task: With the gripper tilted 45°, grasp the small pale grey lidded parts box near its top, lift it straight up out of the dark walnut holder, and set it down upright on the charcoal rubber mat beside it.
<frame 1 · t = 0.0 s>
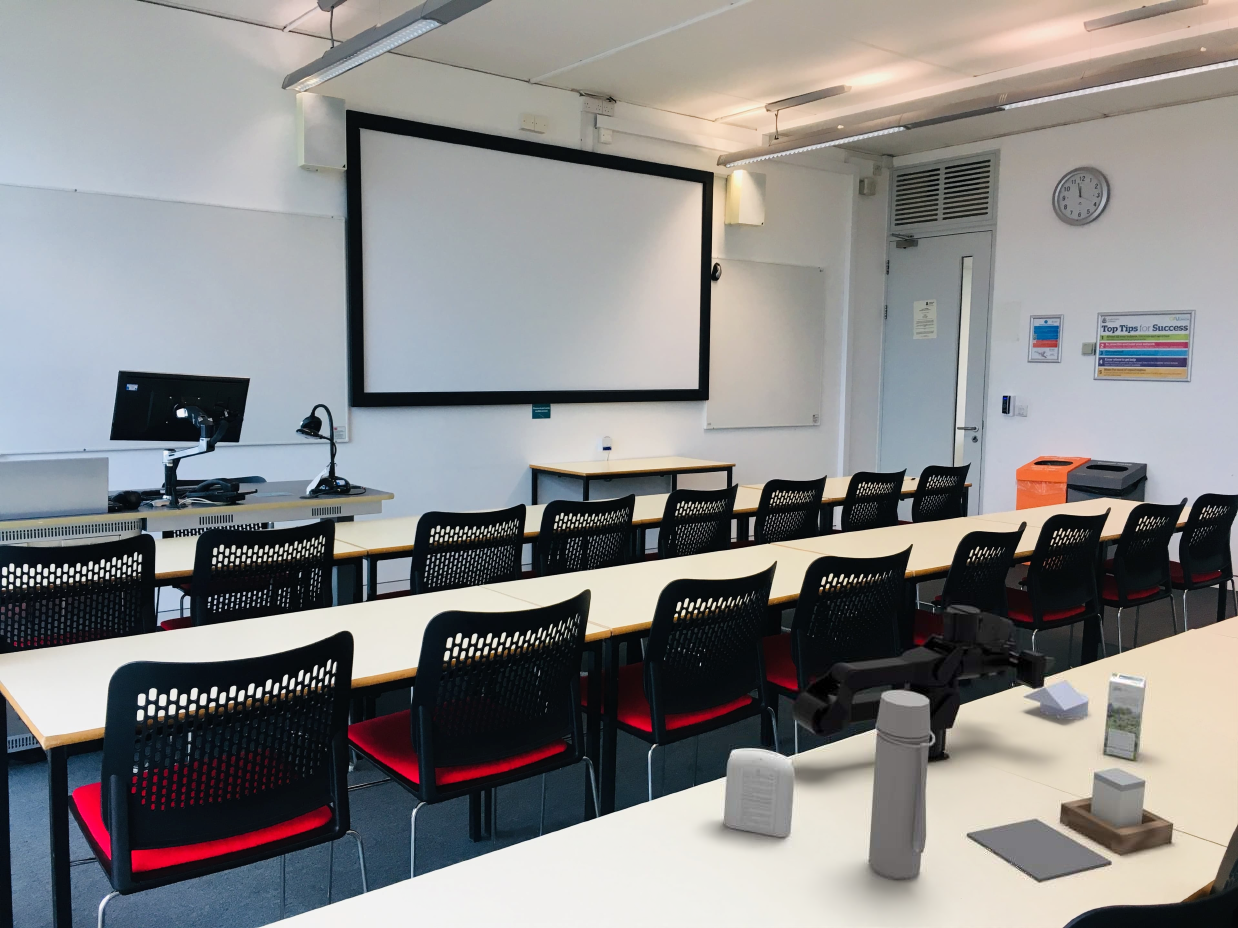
hand: (1035, 653, 188), 17 cm above the table, tool horizontal, fingers open, 9 cm apart
walnut holder: (1114, 831, 152), on the table
rubber mat: (1037, 849, 146), on the table
grey parts box: (1117, 804, 152), in the walnut holder
syrup box: (1120, 754, 184), on the table
lavender angled block: (1058, 713, 204), on the table
photo printer: (757, 829, 150), on the table
water bottle: (898, 873, 138), on the table
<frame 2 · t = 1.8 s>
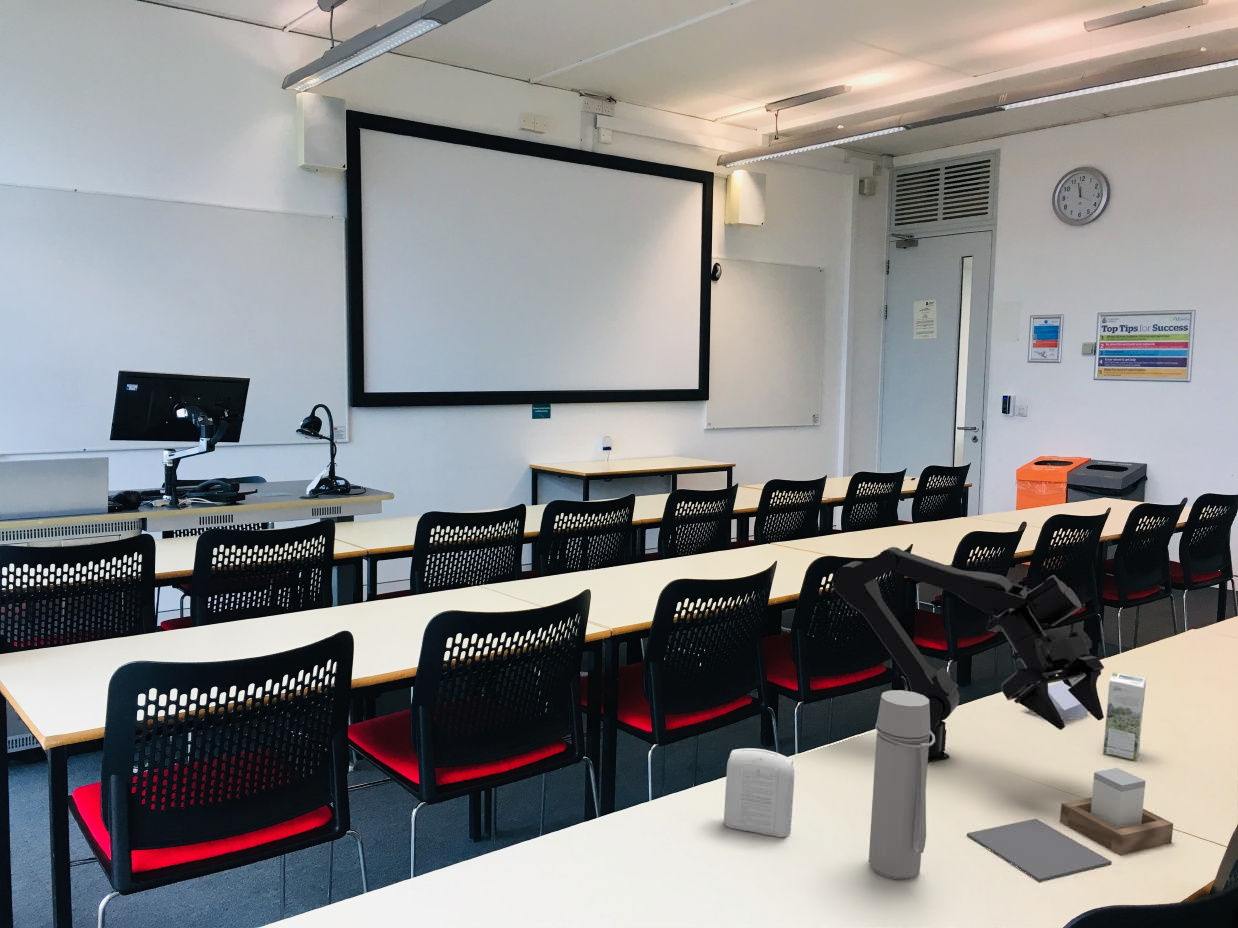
hand: (1082, 723, 159), 14 cm above the table, tool tilted 45°, fingers open, 9 cm apart
nothing on the table moved.
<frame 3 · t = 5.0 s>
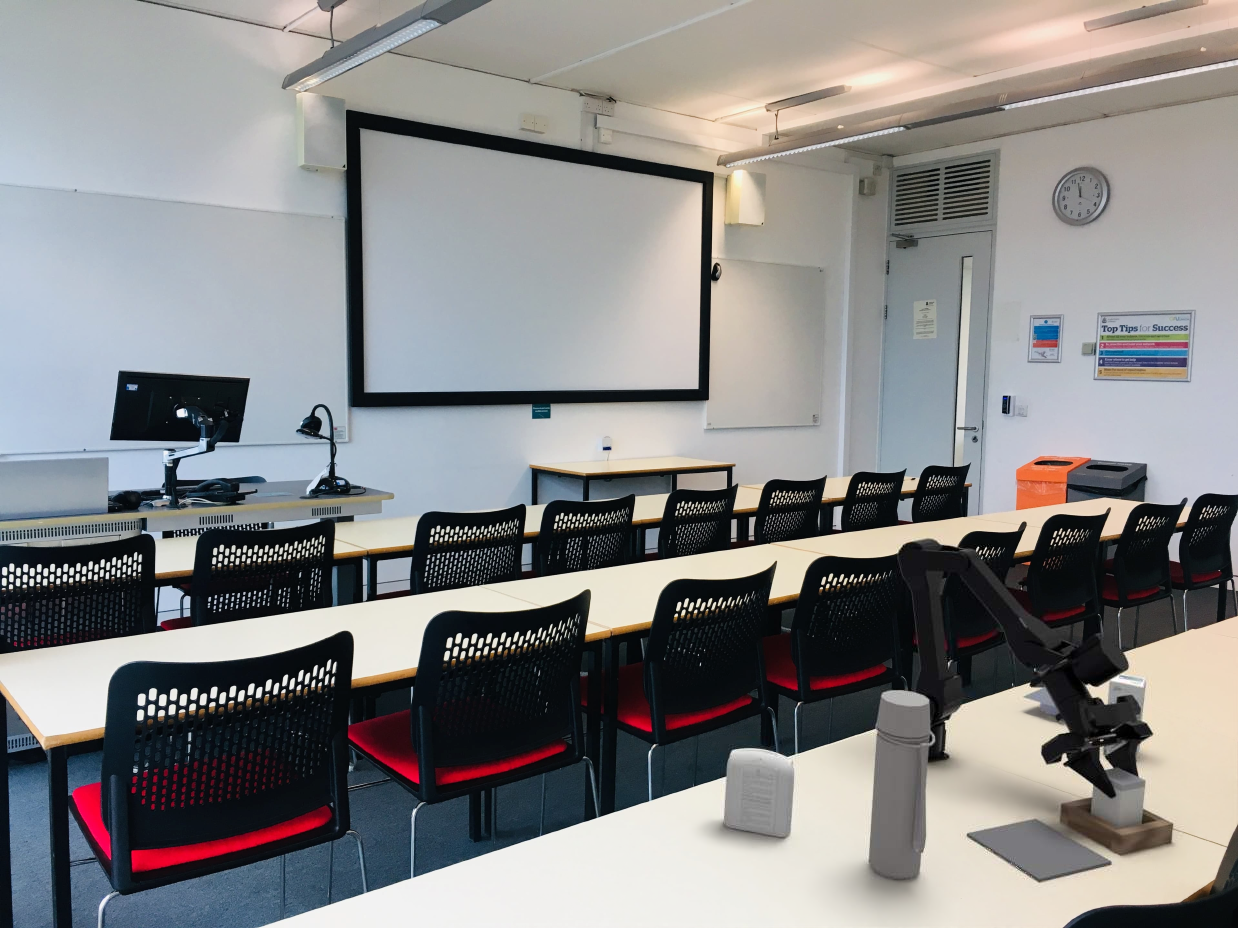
hand: (1126, 794, 150), 7 cm above the table, tool tilted 45°, fingers closed on grey parts box, 5 cm apart
grey parts box: (1117, 803, 152), in the walnut holder, touching gripper
everything else where it was.
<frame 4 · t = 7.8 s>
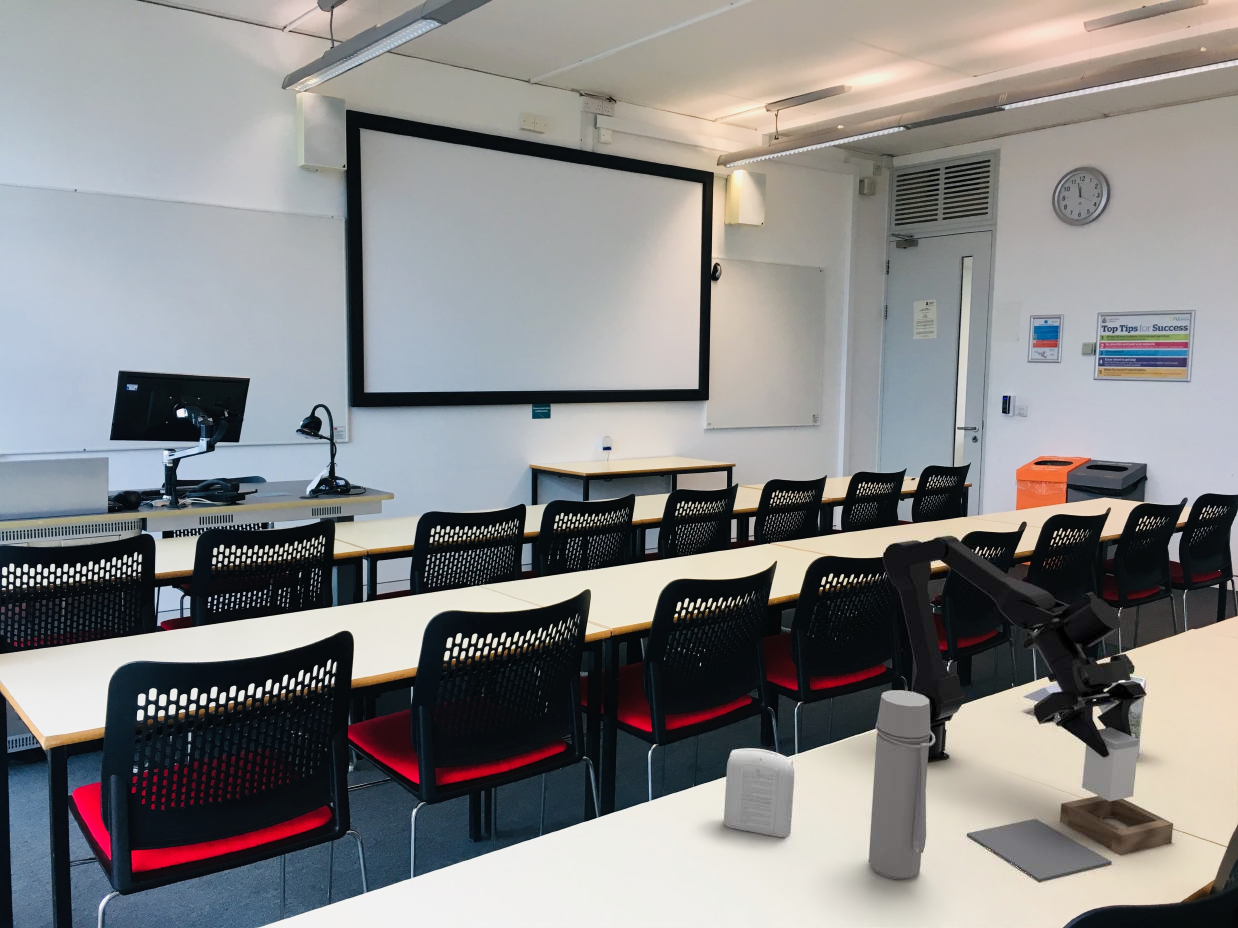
hand: (1119, 753, 149), 13 cm above the table, tool tilted 45°, fingers closed on grey parts box, 5 cm apart
grey parts box: (1110, 763, 150), point 11 cm above the table, touching gripper
everything else where it was.
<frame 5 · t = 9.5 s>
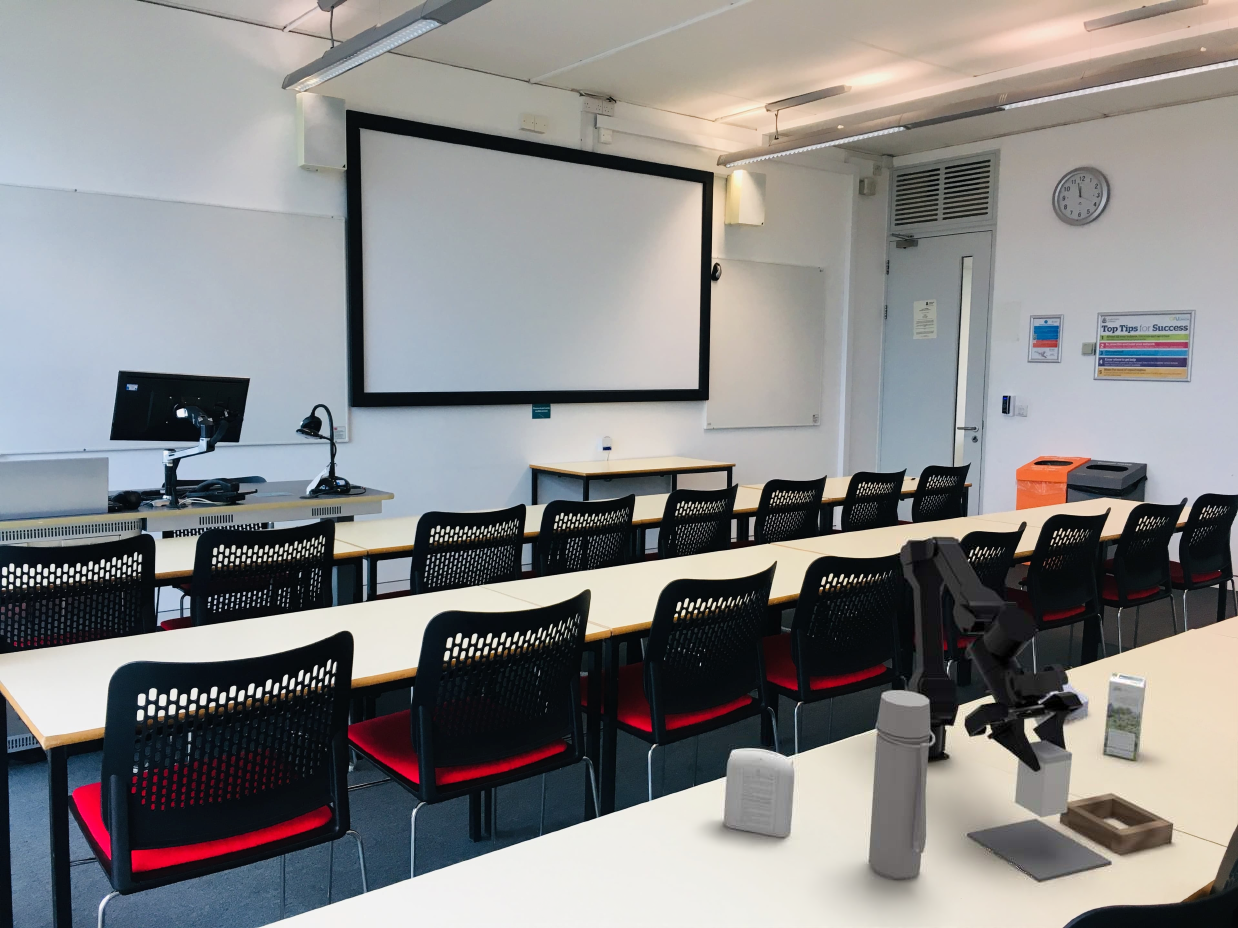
hand: (1051, 767, 143), 13 cm above the table, tool tilted 45°, fingers closed on grey parts box, 5 cm apart
grey parts box: (1043, 777, 145), point 11 cm above the table, touching gripper
everything else where it was.
when the fingers open (8 cm above the table, at t = 10.9 s): grey parts box drops 1 cm, resting on rubber mat.
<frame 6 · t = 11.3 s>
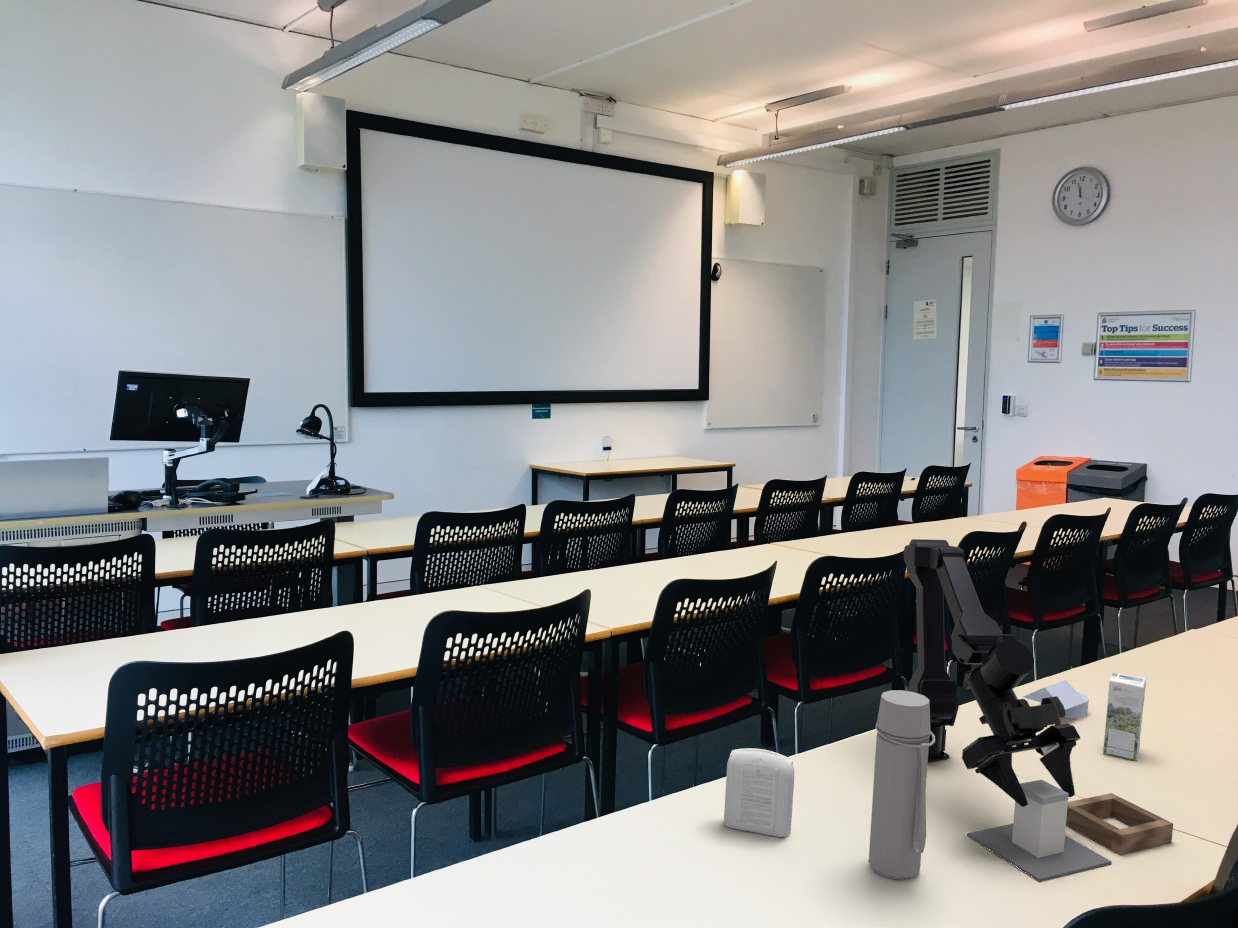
hand: (1049, 800, 144), 8 cm above the table, tool tilted 45°, fingers open, 9 cm apart
grey parts box: (1039, 817, 145), on the rubber mat
everything else where it was.
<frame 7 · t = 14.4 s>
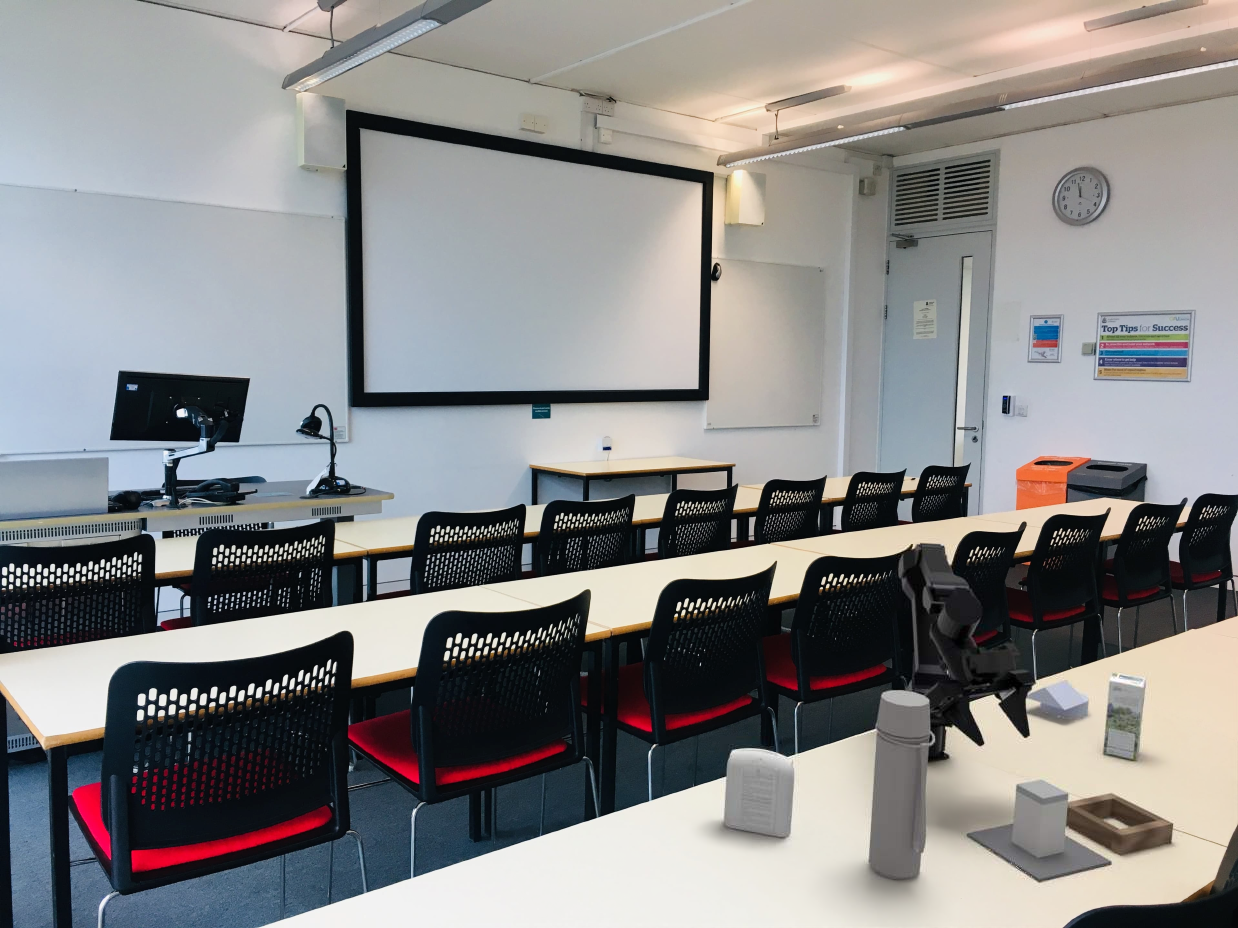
hand: (1005, 740, 152), 14 cm above the table, tool tilted 45°, fingers open, 9 cm apart
nothing on the table moved.
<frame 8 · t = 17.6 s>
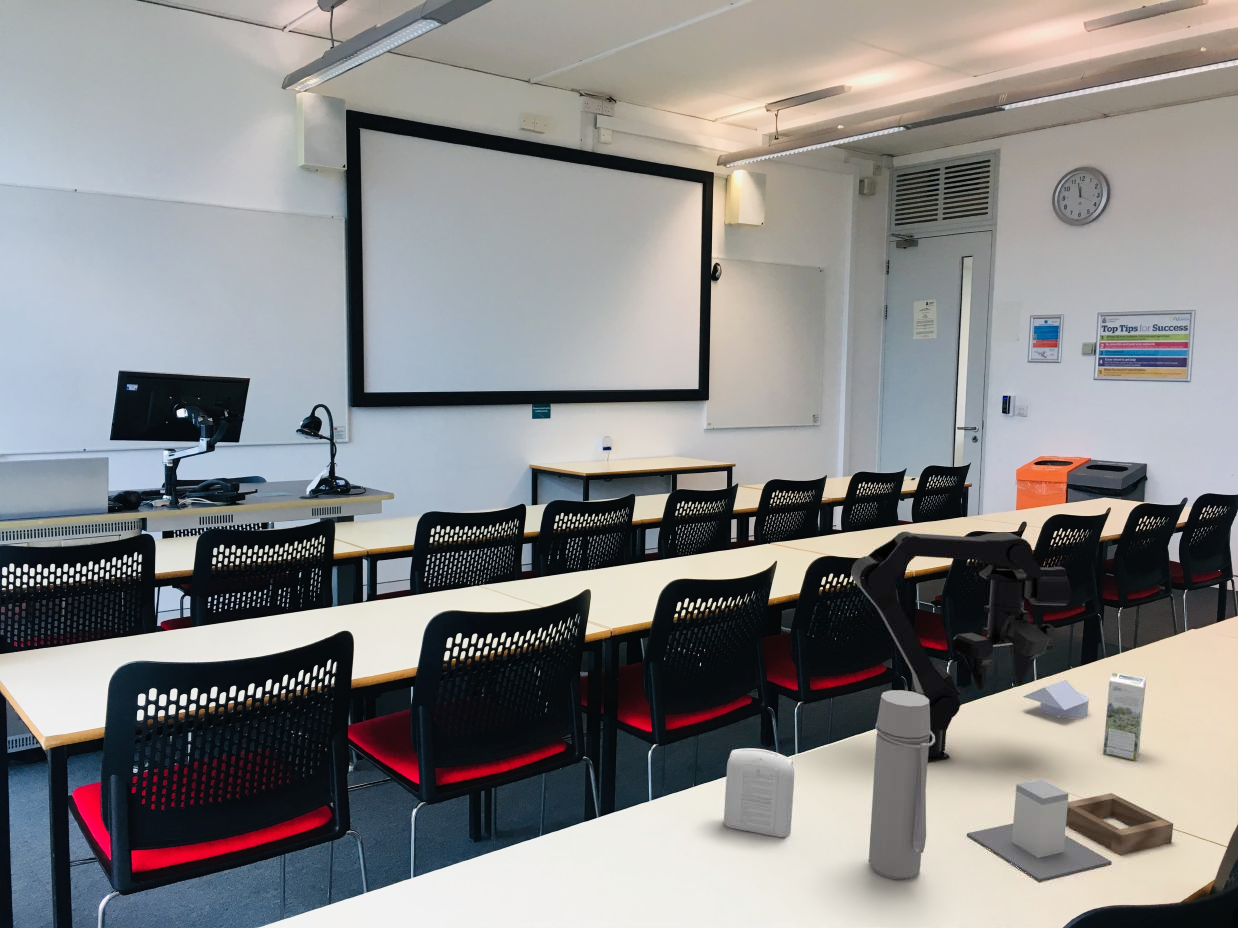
hand: (1000, 687, 179), 13 cm above the table, tool pointing down, fingers open, 9 cm apart
nothing on the table moved.
at the end: grey parts box inside the target area on the rubber mat (0.0 cm from its centre), point 4.9 cm above the rubber mat's base; grey parts box tilted 0°; the gripper is holding nothing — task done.
